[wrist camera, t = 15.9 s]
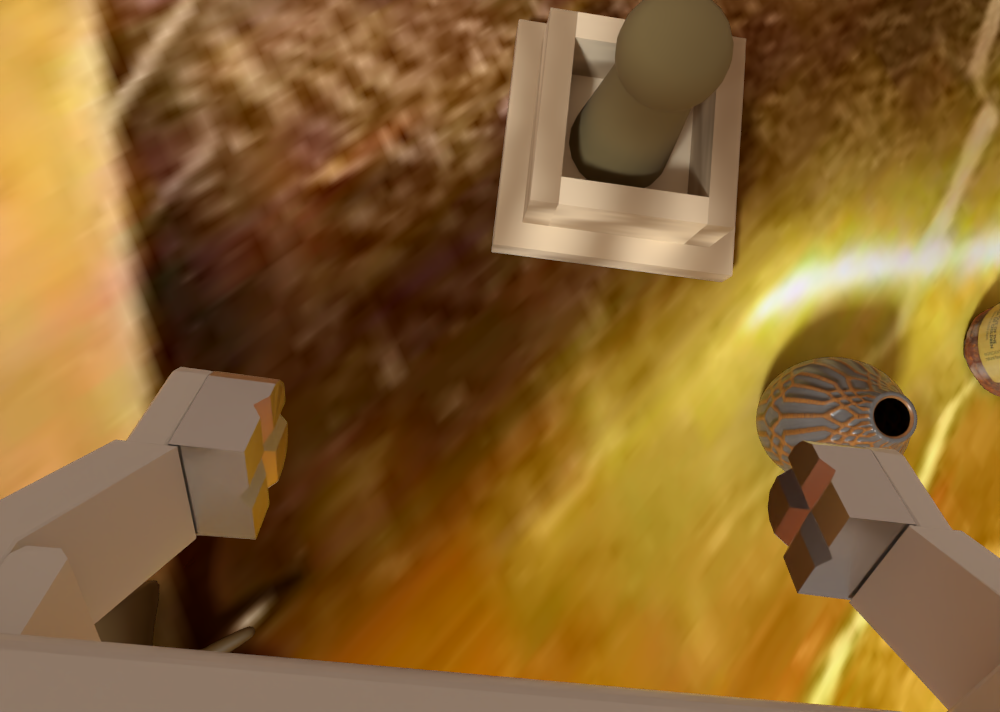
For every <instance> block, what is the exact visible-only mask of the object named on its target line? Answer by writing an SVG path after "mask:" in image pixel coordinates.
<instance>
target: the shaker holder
mask: <svg viewBox="0 0 1000 712" xmlns="http://www.w3.org/2000/svg"><path fill="white" fill-rule="evenodd" d="M624 21H625V19H620V18H613V17H607V16H601V15H594V14H588V13H582V12H575V11H569V10H563V9H556V8H551V9H550V13H549V17H548V21H547V23H541V22H534V21H528V20H522V19H519V22H518V28H517V34H516V42H515V50H514V59H513V68H512V77H511V85H510V94H509V103H508V111H507V120H506V129H505V138H504V146H503V155H502V164H501V172H500V181H499V190H498V199H497V207H496V216H495V225H494V233H493V242H492V251H491V252H497V253H504V254H512V255H519V256H527V257H535V258H542V259H550V260H557V261H565V262H573V263H580V264H588V265H595V266H603V267H611V268H618V269H626V270H633V271H641V272H649V273H656V274H664V275H671V276H679V277H687V278H694V279H702V280H709V281H717V282H723V281H724V280H726V279H728V278H729V277H731V276H732V271H733V254H734V237H735V221H736V204H737V187H738V171H739V154H740V137H741V121H742V104H743V87H744V71H745V50H746V38H740V37H733V36H732V37H733V42H734V46H733V56H732V61H731V65H730V68H729V70H728V72H727V74H726V76H725V78H724V80H723V82H722V83H721V85H720V86H719V87H718V88H717V90H716V91H715V92H713V93H712V94H711V95H710V96H709V97H708V98H707V99H706V100H705V101H704V102H702V103H700V104H698V105H696V106H694V107H692V109H691V111H690V113H689V115H688V118H687V120H686V122H685V124H684V126H683V129H682V131H681V133H680V135H679V138H678V140H677V142H676V144H675V146H674V149H673V151H672V153H671V155H670V157H669V160H668V162H667V164H666V166H665V168H664V170H663V172H662V174H661V175H660V176H659V177H658V178H657V179H656V180H655V181H654V182H653V183H652V184H651V185H650V186H648V187H646V188H639V187H632V186H625V185H618V184H611V183H603V182H596V181H589V180H587V179H586V178H585V177H584V176H583V175H582V174H581V173H580V172H579V171H578V169H577V167H576V165H575V163H574V161H573V160H572V157H571V152H570V146H569V139H570V131H571V127H572V125H573V123H574V121H575V119H576V117H577V115H578V114H579V112H580V111H581V110H582V108H583V107H584V106H585V104H586V103H587V101H588V100H589V99H590V97H591V96H592V94H593V93H594V92H595V90H596V89H597V88H598V86H599V85H600V83H601V82H602V81H603V79H604V78H605V77H606V75H607V74H608V72H609V71H610V70H611V68H612V67H613V65H614V64H615V50H616V43H617V37H618V34H619V32H620V29H621V27H622V25H623V23H624Z"/></svg>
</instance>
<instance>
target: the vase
mask: <svg viewBox="0 0 1000 712" xmlns="http://www.w3.org/2000/svg"><path fill="white" fill-rule="evenodd" d="M756 425H757V432H758V435H759V439H760V441H761V443H762V446H763V447H764V449H765V451H766V452H767V454H768V455H769V457H770V458H771V459H772V460H773V461H774V462H775V463H776V464H777V465H778V466H779V467H780V468H782V469H783V470H784V471H785V472H786V471H788V470H789V469H791V465H790V462H789V459H788V456H789V455H790V453H791V451H792V450H793V448H794V446H795V445H797V444H798V443H799V442H801V441H802V440H803V441H813V442H822V443H831V444H840V445H850V446H858V447H875V448H885V449H895V450H896V451H898V452H899V453H901V454H902V455H903V453H904V452H905V450H906V448H907V446H908V443H909V440H910V437H911V435H912V434H913V433H914V431H915V429H916V425H917V413H916V410H915V408H914V406H913V404H912V403H911V401H910V400H909V399H908V398H907V397H906V396H904V394H903V392H902V391H901V389H900V388H899V387H898V385H897V384H896V383H895V382H894V381H893V380H892V379H891V378H890V377H889V376H887V375H886V374H885V373H883V372H882V371H880V370H879V369H877V368H875V367H873V366H871V365H869V364H866V363H863V362H860V361H857V360H853V359H848V358H841V357H823V358H816V359H811V360H808V361H804V362H801V363H799V364H796V365H794V366H792V367H790V368H788V369H786V370H785V371H783V372H782V373H781V374H780V375H778V376H777V377H776V378H775V379H774V380H773V381H772V382H771V383H770V384H769V386H768V387H767V388H766V390H765V391H764V393H763V395H762V397H761V399H760V402H759V405H758V409H757V416H756Z"/></svg>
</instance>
